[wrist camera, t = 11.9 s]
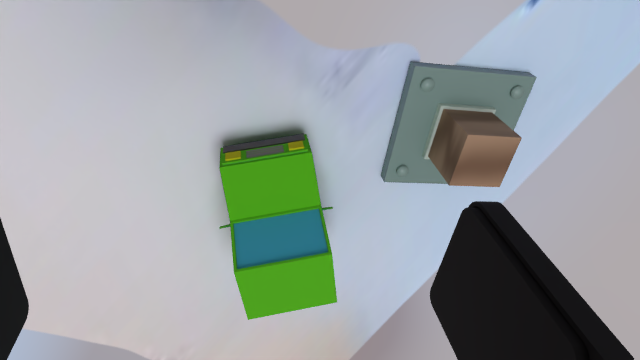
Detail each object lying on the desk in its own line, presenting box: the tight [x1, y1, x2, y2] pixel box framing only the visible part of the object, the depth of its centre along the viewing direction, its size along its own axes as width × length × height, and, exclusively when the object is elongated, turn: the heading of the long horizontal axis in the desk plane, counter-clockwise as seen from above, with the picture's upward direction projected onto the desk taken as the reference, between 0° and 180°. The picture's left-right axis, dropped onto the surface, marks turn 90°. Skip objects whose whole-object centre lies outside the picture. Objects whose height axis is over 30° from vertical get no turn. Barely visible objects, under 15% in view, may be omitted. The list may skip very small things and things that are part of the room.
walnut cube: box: [428, 109, 521, 187], centre depth 38 cm, size 5×5×5 cm
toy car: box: [219, 134, 337, 320], centre depth 39 cm, size 10×13×10 cm
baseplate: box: [381, 62, 536, 184], centre depth 41 cm, size 12×12×2 cm
